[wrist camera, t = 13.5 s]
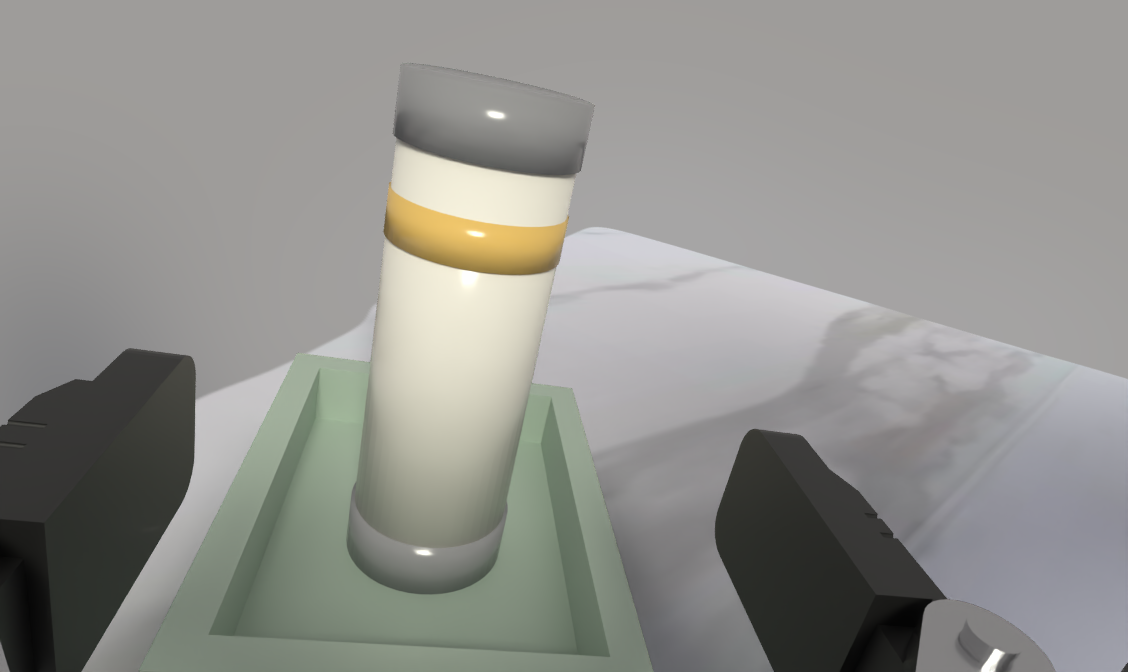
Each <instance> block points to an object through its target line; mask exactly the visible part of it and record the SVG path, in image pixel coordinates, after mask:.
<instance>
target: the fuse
mask: <svg viewBox="0 0 1128 672" xmlns="http://www.w3.org/2000/svg"><path fill="white" fill-rule="evenodd" d="M594 107H595V105H594V104H592V103H590V102H588V101H585V100H583V99H580V98H576V97H573V96H570V95H567V94H563V93H559V92H556V91H552V90H548V89H544V88H540V87H537V86H532V85H528V84H523V83H520V82H515V81H511V80H506V79H502V78H496V77H492V76H488V75H483V74H478V73H472V72H467V71H461V70H456V69H450V68H444V67H437V66H431V65H424V64H414V63H402V64H401V67H400V75H399V85H398V93H397V102H396V110H395V119H394V128H393V134H394V136H395V137H396V147H395V156H394V164H393V173H392V181H391V182H390V183H389V189H388V199H387V206H386V215H385V224H384V235H385V241H384V250H383V259H382V268H381V275H380V284H379V294H378V301H377V310H376V318H375V327H374V335H373V344H372V352H371V361H370V369H369V378H368V387H367V395H366V404H365V412H364V421H363V429H362V438H361V446H360V455H359V464H358V472H357V481H356V482H355V484H354V486H353V489H352V494H351V503H350V511H349V520H348V529H347V537H346V543H347V549H348V552H349V555H350V557H351V559H352V561H353V562H354V563H355V565H356V566H357V567H358V568H359V569H360V570H361V571H362V572H363V573H364V574H365V575H367V576H368V577H369V578H371V579H372V580H374V581H376V582H378V583H379V584H382V585H384V586H386V587H389V588H392V589H395V590H398V591H402V592H407V593H414V594H430V595H432V594H443V593H449V592H454V591H457V590H461V589H464V588H466V587H469V586H471V585H473V584H475V583H476V582H478V581H480V580H481V579H482V578H483V577H485V576H486V575H487V574H488V573H489V572H490V571H491V569H492V568H493V566H494V565H495V563H496V561H497V558H498V554H499V549H500V545H501V540H502V535H503V531H504V526H505V521H506V517H507V512H508V504H507V497H508V492H509V487H510V483H511V478H512V473H513V469H514V464H515V459H516V455H517V450H518V445H519V440H520V436H521V431H522V426H523V422H524V417H525V412H526V408H527V403H528V398H529V393H530V389H531V384H532V379H533V375H534V370H535V365H536V361H537V356H538V351H539V346H540V342H541V337H542V332H543V328H544V323H545V318H546V314H547V309H548V304H549V299H550V295H551V290H552V285H553V281H554V276H555V271H556V267H557V265H558V264H559V261H560V257H561V252H562V247H563V243H564V238H565V233H566V229H567V224H568V219H569V217H568V210H569V205H570V201H571V196H572V191H573V187H574V182H575V177H576V173H579V172H580V171H581V168H582V163H583V158H584V153H585V149H586V144H587V140H588V135H589V131H590V126H591V121H592V117H593V112H594Z"/></svg>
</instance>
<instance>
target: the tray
mask: <svg viewBox="0 0 1128 672" xmlns="http://www.w3.org/2000/svg"><path fill="white" fill-rule="evenodd" d="M369 369H370V362H364V361H356V360H348V359H341V358H333V357H325V356H317V355H310V354H302V353H297V355H296V357H295V359H294V361H293V363H292V365H291V367H290V369H289V371H288V373H287V375H286V377H285V379H284V381H283V383H282V385H281V387H280V389H279V391H278V393H277V395H276V397H275V399H274V401H273V403H272V405H271V407H270V409H269V411H268V413H267V415H266V417H265V419H264V421H263V423H262V425H261V427H260V429H259V431H258V433H257V435H256V437H255V439H254V441H253V443H252V445H251V447H250V449H249V451H248V453H247V455H246V457H245V459H244V461H243V463H242V465H241V467H240V469H239V471H238V473H237V475H236V477H235V479H234V481H233V483H232V485H231V487H230V489H229V491H228V493H227V495H226V497H225V499H224V501H223V503H222V505H221V507H220V509H219V511H218V513H217V515H216V517H215V519H214V521H213V523H212V525H211V527H210V529H209V531H208V533H207V535H206V537H205V539H204V541H203V543H202V545H201V547H200V549H199V551H198V553H197V555H196V557H195V559H194V561H193V563H192V565H191V567H190V569H189V571H188V573H187V575H186V577H185V579H184V581H183V583H182V585H181V587H180V589H179V591H178V593H177V595H176V597H175V599H174V601H173V603H172V605H171V607H170V609H169V611H168V613H167V615H166V617H165V619H164V621H163V623H162V625H161V627H160V629H159V631H158V633H157V635H156V637H155V639H154V641H153V643H152V645H151V647H150V649H149V651H148V653H147V655H146V657H145V659H144V661H143V663H142V665H141V667H140V669H139V672H654V671H653V668H652V664H651V661H650V657H649V654H648V650H647V647H646V644H645V640H644V637H643V633H642V630H641V626H640V623H639V619H638V616H637V612H636V609H635V605H634V602H633V598H632V595H631V591H630V588H629V584H628V581H627V578H626V574H625V571H624V567H623V564H622V560H621V557H620V553H619V550H618V546H617V543H616V539H615V536H614V532H613V529H612V525H611V522H610V518H609V515H608V511H607V508H606V505H605V501H604V498H603V494H602V491H601V487H600V484H599V480H598V477H597V473H596V470H595V466H594V463H593V459H592V456H591V452H590V449H589V445H588V442H587V439H586V435H585V432H584V428H583V425H582V421H581V418H580V414H579V411H578V407H577V404H576V400H575V397H574V393H573V390H572V388H565V387H557V386H549V385H542V384H534V383H532V384H531V389H530V393H529V398H528V403H527V408H526V412H525V417H524V422H523V426H522V431H521V436H520V440H519V445H518V450H517V455H516V459H515V464H514V469H513V473H512V478H511V483H510V487H509V492H508V497H507V504H508V512H507V517H506V521H505V526H504V531H503V535H502V540H501V545H500V549H499V554H498V558H497V561H496V563H495V565H494V566H493V568H492V569H491V571H490V572H489V573H488V574H487V575H486V576H485V577H483V578H482V579H481V580H480V581H478V582H476V583H475V584H473V585H471V586H469V587H466V588H464V589H461V590H457V591H454V592H449V593H443V594H432V595H430V594H414V593H407V592H402V591H398V590H395V589H392V588H389V587H386V586H384V585H382V584H379V583H378V582H376V581H374V580H372V579H371V578H369V577H368V576H367V575H365V574H364V573H363V572H362V571H361V570H360V569H359V568H358V567H357V566H356V565H355V563H354V562H353V561H352V559H351V557H350V555H349V552H348V549H347V543H346V537H347V529H348V520H349V511H350V503H351V494H352V489H353V486H354V484H355V482H356V481H357V472H358V464H359V455H360V446H361V438H362V429H363V421H364V412H365V404H366V395H367V387H368V378H369Z"/></svg>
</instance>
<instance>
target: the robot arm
mask: <svg viewBox="0 0 1128 672" xmlns="http://www.w3.org/2000/svg"><path fill="white" fill-rule="evenodd" d="M195 375H196V373H195V364H194V361H193V359H192V357H190V356H186V355H179V354H171V353H163V352H155V351H147V350H139V349H131V348H130V349H127V350H125V351H124V352H122V354H120V355H119V356H118V357H117V358H116V359H115V360H114V361H113V362H112V363H111V364H110V365H109V366H108V367H107V368H106V369H105V370H104V371H103V372H102V373H101V374H100V375H99V376H97V377H96V378H95V380H93V381H86V380H77V379H75V380H73V381H70V382H68V383H66V384H63V385H61V386H59V387H56V388H54V389H52V390H49V391H47V392H45V393H42V394H40V395H38V396H35V397H34V398H33V399H32V400H31V401H29V402H28V403H27V404H26V405H25V406H24V407H23V408H21V409H20V410H19V411H18V412H17V413H16V414H15V415H13V416H12V417H11V418H10V419H9V420H8V424H7V425H2V426H1V427H0V672H81V671H82V670H83V668H84V666H85V665H86V663H87V661H88V660H89V658H90V656H91V655H92V653H93V651H94V650H95V648H96V646H97V644H98V643H99V641H100V639H101V638H102V636H103V634H104V633H105V631H106V629H107V628H108V626H109V624H110V623H111V621H112V619H113V618H114V616H115V614H116V613H117V611H118V609H119V608H120V606H121V604H122V602H123V601H124V599H125V597H126V596H127V594H128V592H129V591H130V589H131V587H132V586H133V584H134V582H135V581H136V579H137V577H138V576H139V574H140V572H141V571H142V569H143V567H144V566H145V564H146V562H147V561H148V559H149V557H150V555H151V554H152V552H153V550H154V549H155V547H156V545H157V544H158V542H159V540H160V539H161V537H162V535H163V534H164V532H165V530H166V529H167V527H168V525H169V524H170V522H171V520H172V519H173V517H174V515H175V514H176V512H177V510H178V508H179V507H180V505H181V503H182V501H183V500H184V497H185V495H186V492H187V490H188V486H189V483H190V479H191V475H192V470H193V464H194V443H195V381H196V376H195ZM877 515H878V514H877V513H876V512H875V511H874V509H873V508H872V507H871V506H870V505H869V503H868V502H867V501H866V500H865V499H864V497H863V496H862V495H861V494H860V492H859V491H858V490H856V489H855V488H854V487H852V486H851V485H850V484H848V483H847V482H846V481H844V480H843V479H842V478H840V477H839V476H838V475H836V474H835V473H834V472H832V471H831V470H829V468H828V467H827V466H826V465H825V463H824V462H823V461H822V460H821V458H820V457H819V456H818V455H817V453H816V452H815V451H814V450H813V448H812V447H811V446H810V445H809V443H808V442H807V441H806V440H805V439H804V438H803V437H802V436H801V435H797V434H790V433H782V432H774V431H766V430H758V429H752V430H750V431H749V432H748V433H747V434H746V435H745V437H744V438H743V440H742V443H741V445H740V448H739V451H738V454H737V457H736V460H735V463H734V465H733V468H732V471H731V474H730V477H729V480H728V483H727V486H726V488H725V491H724V494H723V497H722V500H721V503H720V506H719V509H718V512H717V516H716V523H715V539H716V545H717V549H718V552H719V555H720V557H721V559H722V561H723V563H724V565H725V568H726V570H727V572H728V574H729V576H730V578H731V580H732V583H733V585H734V587H735V589H736V591H737V593H738V595H739V598H740V600H741V602H742V604H743V606H744V608H745V610H746V613H747V615H748V617H749V619H750V621H751V623H752V625H753V628H754V630H755V632H756V634H757V636H758V638H759V640H760V643H761V645H762V647H763V649H764V651H765V653H766V655H767V658H768V660H769V662H770V664H771V666H772V668H773V670H774V672H1056V671H1055V669H1054V667H1053V665H1052V663H1051V662H1050V660H1049V659H1048V657H1047V656H1046V654H1045V653H1044V652H1043V651H1042V650H1041V649H1040V647H1039V646H1038V645H1037V644H1036V643H1035V642H1034V641H1033V640H1031V639H1030V638H1029V637H1028V636H1027V635H1026V634H1024V633H1023V632H1022V631H1021V630H1019V629H1018V628H1017V627H1015V626H1014V625H1012V624H1011V623H1009V622H1008V621H1006V620H1005V619H1003V618H1001V617H1000V616H998V615H996V614H994V613H992V612H990V611H988V610H986V609H983V608H981V607H978V606H976V605H973V604H970V603H967V602H962V601H958V600H950V599H947V598H946V597H945V596H944V594H943V593H942V592H941V591H940V590H939V588H938V587H937V586H936V585H935V584H934V582H933V581H932V580H931V579H930V577H929V576H928V575H927V574H926V573H925V571H924V570H923V569H922V568H921V567H920V565H919V564H918V563H917V562H916V560H915V559H914V558H913V557H912V556H911V554H910V553H909V552H908V551H907V550H906V548H905V547H904V546H903V545H902V543H901V542H900V541H899V540H898V539H895V538H893V533H892V531H891V530H890V529H889V528H888V526H887V525H886V524H885V523H884V522H883V520H882V519H877ZM1121 672H1128V663H1127V664H1126V665H1125V667H1124V668H1123V670H1122V671H1121Z"/></svg>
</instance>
